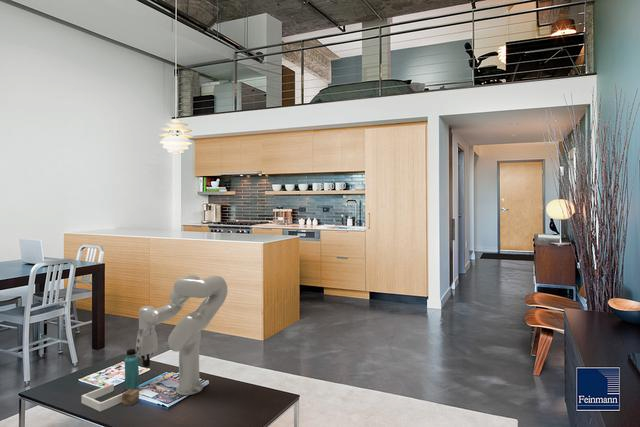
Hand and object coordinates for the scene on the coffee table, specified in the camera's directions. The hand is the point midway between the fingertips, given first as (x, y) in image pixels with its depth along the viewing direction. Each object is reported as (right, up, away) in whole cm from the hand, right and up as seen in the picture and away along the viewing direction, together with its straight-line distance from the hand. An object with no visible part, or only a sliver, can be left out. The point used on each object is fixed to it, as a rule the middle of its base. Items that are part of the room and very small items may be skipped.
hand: (146, 366), depth 214 cm
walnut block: (+1, -9, -20) cm, 22 cm away
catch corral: (-11, -9, -19) cm, 23 cm away
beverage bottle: (-4, -9, -8) cm, 12 cm away
